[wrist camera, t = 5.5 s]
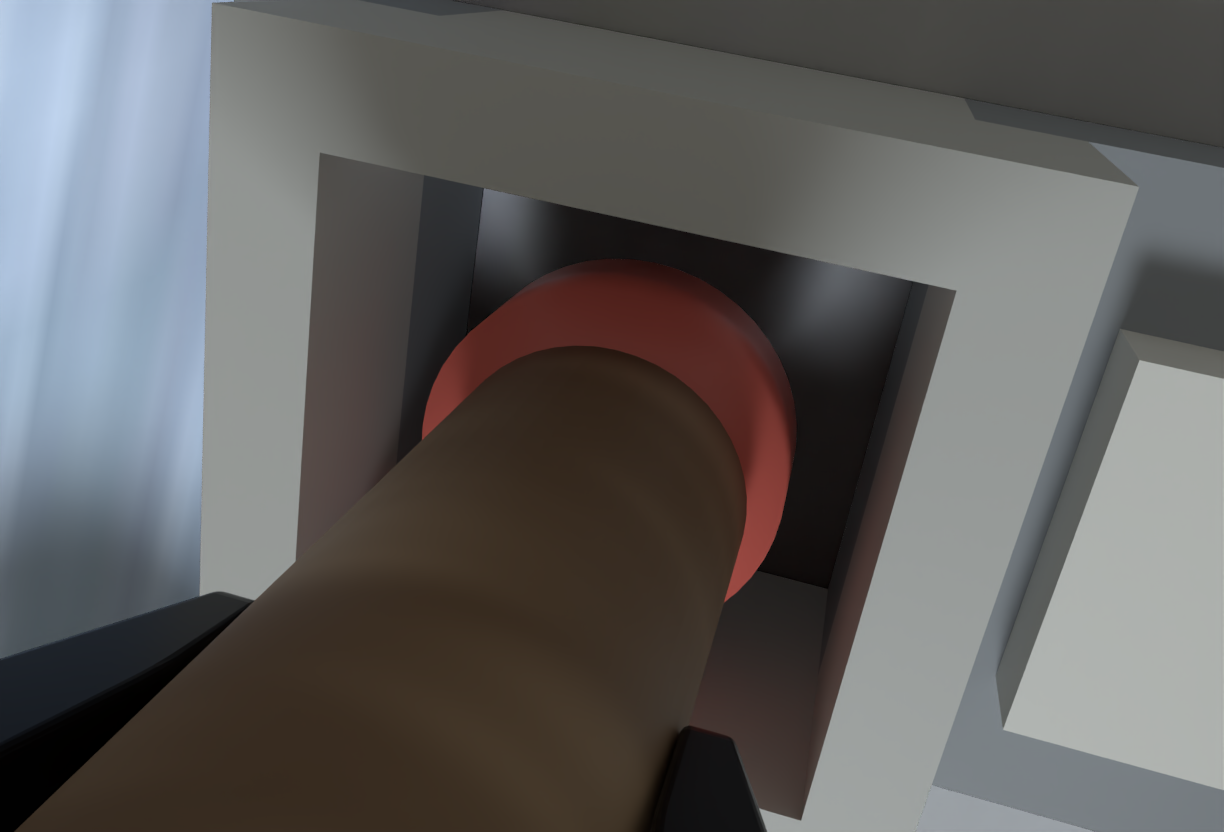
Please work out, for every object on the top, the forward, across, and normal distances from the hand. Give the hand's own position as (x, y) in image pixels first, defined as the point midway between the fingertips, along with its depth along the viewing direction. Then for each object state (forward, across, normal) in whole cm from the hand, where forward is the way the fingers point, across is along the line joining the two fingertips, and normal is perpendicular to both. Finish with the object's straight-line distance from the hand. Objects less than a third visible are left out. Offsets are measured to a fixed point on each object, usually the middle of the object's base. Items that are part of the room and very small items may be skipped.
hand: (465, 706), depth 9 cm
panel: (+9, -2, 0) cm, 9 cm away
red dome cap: (+7, 0, 0) cm, 7 cm away
